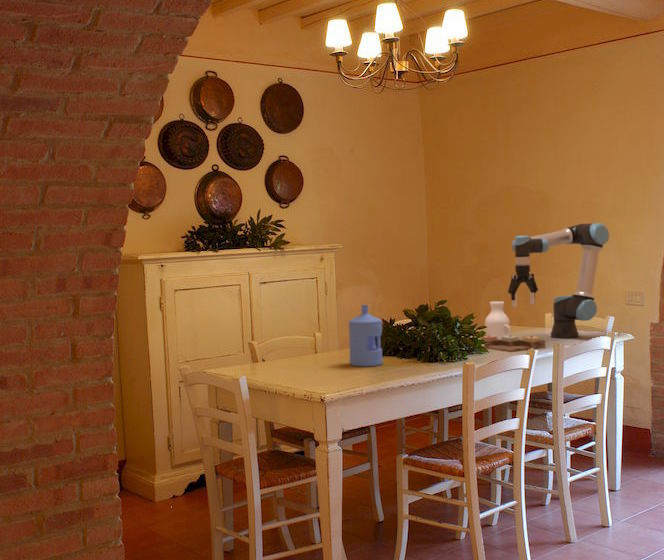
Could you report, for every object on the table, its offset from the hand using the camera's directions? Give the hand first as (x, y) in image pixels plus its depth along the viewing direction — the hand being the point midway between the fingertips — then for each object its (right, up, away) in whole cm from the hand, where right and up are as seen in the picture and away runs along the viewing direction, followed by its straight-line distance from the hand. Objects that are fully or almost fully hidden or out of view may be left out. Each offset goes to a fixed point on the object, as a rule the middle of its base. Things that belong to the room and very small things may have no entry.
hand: (523, 305), depth 450 cm
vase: (-6, -19, +40) cm, 45 cm away
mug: (-7, -20, +22) cm, 31 cm away
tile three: (+2, -19, -10) cm, 21 cm away
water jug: (-85, -26, -49) cm, 102 cm away
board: (-8, -22, -5) cm, 24 cm away
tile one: (-8, -19, -6) cm, 21 cm away
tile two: (-19, -19, -2) cm, 26 cm away
